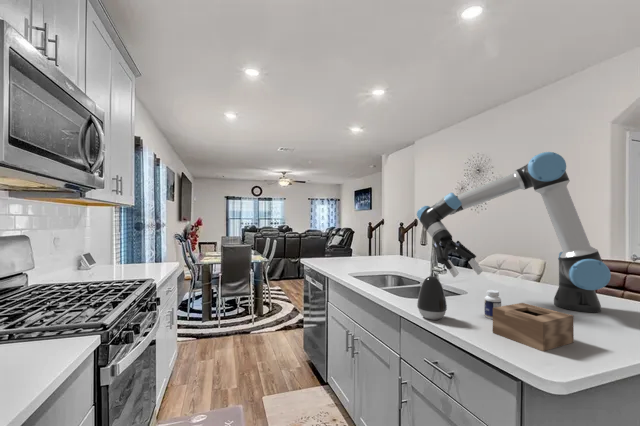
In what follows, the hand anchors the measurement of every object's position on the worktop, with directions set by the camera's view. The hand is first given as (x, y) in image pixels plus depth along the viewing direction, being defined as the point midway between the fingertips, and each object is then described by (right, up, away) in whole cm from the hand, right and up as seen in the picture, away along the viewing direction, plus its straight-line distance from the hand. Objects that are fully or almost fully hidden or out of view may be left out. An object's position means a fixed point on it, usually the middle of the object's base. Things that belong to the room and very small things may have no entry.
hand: (468, 274), depth 124 cm
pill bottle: (+4, -14, -10) cm, 18 cm away
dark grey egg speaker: (-19, -14, -10) cm, 26 cm away
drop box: (+6, -14, -29) cm, 32 cm away
